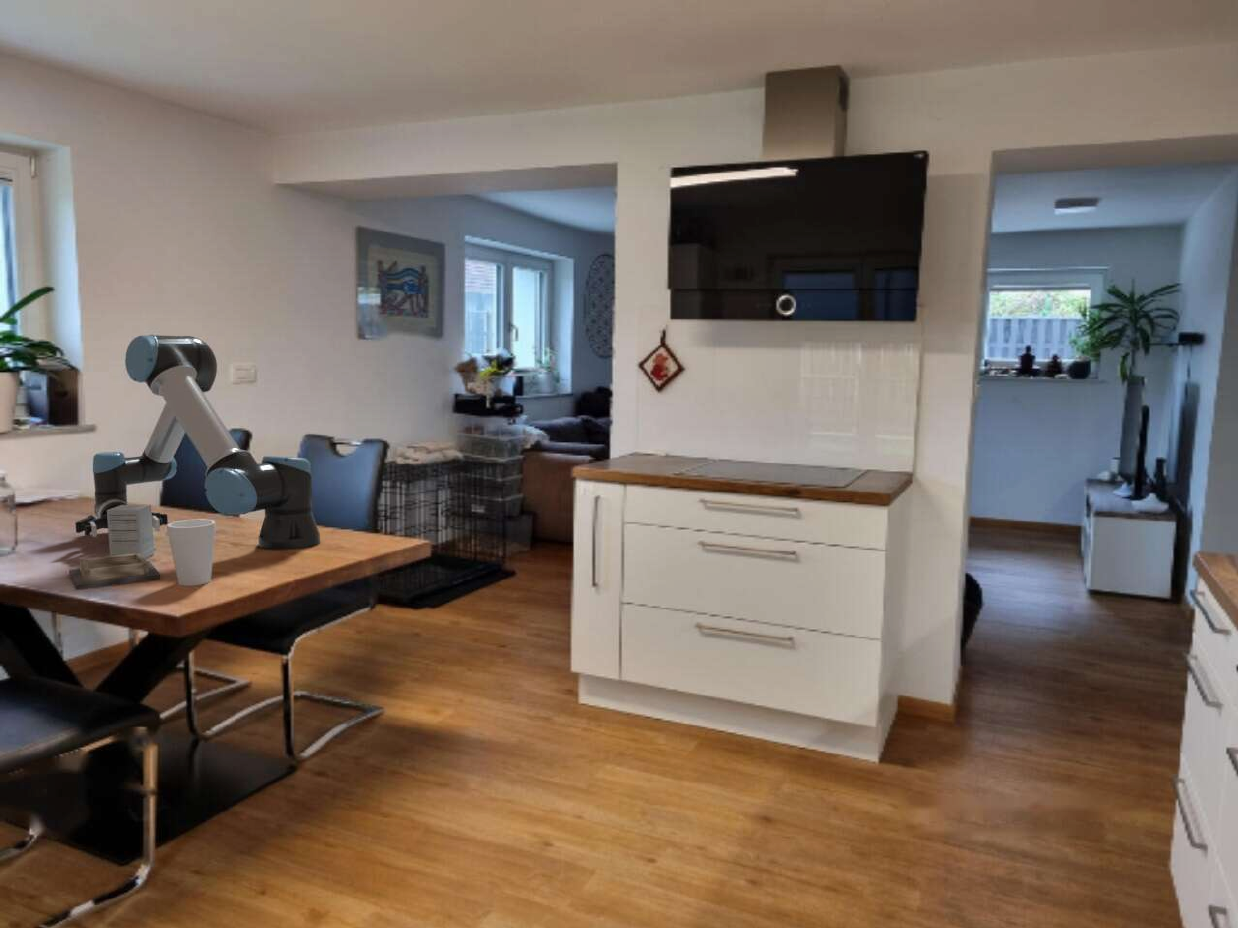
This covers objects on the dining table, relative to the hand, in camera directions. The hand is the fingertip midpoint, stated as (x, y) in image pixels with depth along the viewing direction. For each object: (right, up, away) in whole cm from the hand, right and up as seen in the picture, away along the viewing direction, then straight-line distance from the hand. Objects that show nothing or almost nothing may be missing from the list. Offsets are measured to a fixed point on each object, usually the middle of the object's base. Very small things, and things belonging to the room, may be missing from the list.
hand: (127, 528), depth 212 cm
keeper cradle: (+8, -9, -19) cm, 23 cm away
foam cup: (+28, -10, -23) cm, 37 cm away
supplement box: (+2, -7, -1) cm, 8 cm away
